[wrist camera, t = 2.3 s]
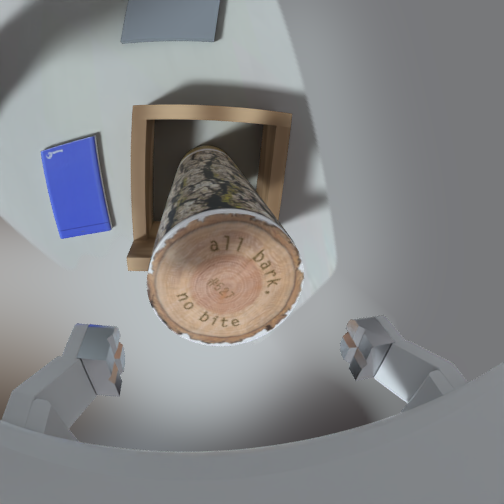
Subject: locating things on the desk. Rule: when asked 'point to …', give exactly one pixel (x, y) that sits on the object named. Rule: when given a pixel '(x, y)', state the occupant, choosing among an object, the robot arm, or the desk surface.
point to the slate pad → (170, 20)
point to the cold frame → (145, 115)
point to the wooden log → (221, 256)
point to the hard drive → (76, 188)
